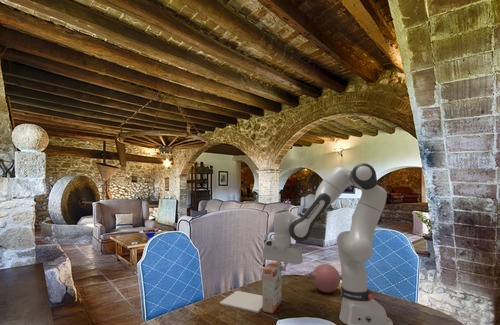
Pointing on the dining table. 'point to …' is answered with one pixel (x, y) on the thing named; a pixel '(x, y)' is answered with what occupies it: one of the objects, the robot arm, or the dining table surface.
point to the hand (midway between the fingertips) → (282, 270)
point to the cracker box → (271, 287)
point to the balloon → (325, 278)
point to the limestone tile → (244, 301)
